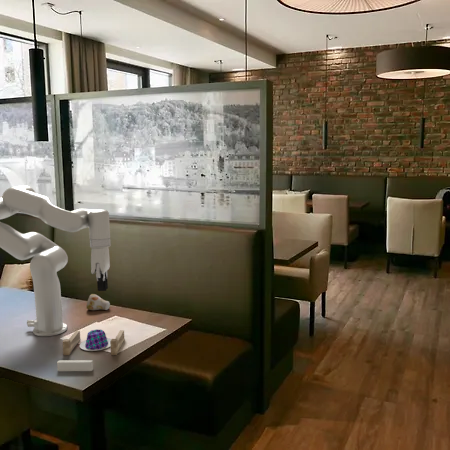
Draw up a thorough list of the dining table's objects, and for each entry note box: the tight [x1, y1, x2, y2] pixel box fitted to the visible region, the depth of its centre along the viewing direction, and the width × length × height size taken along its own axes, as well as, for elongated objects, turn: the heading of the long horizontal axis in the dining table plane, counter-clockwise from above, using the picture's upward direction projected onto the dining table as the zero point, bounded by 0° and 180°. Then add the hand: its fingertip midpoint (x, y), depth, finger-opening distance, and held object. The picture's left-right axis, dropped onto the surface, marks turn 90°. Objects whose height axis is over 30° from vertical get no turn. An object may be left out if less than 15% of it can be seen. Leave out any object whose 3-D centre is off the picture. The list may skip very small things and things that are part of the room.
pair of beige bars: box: [61, 330, 125, 356], centre depth 173 cm, size 18×14×5 cm
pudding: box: [79, 329, 112, 352], centre depth 175 cm, size 12×12×5 cm
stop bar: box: [56, 359, 94, 372], centre depth 155 cm, size 11×2×3 cm, turn 89°
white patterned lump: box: [86, 293, 111, 311], centre depth 213 cm, size 8×10×10 cm
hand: (102, 289), depth 184 cm, fingers closed
